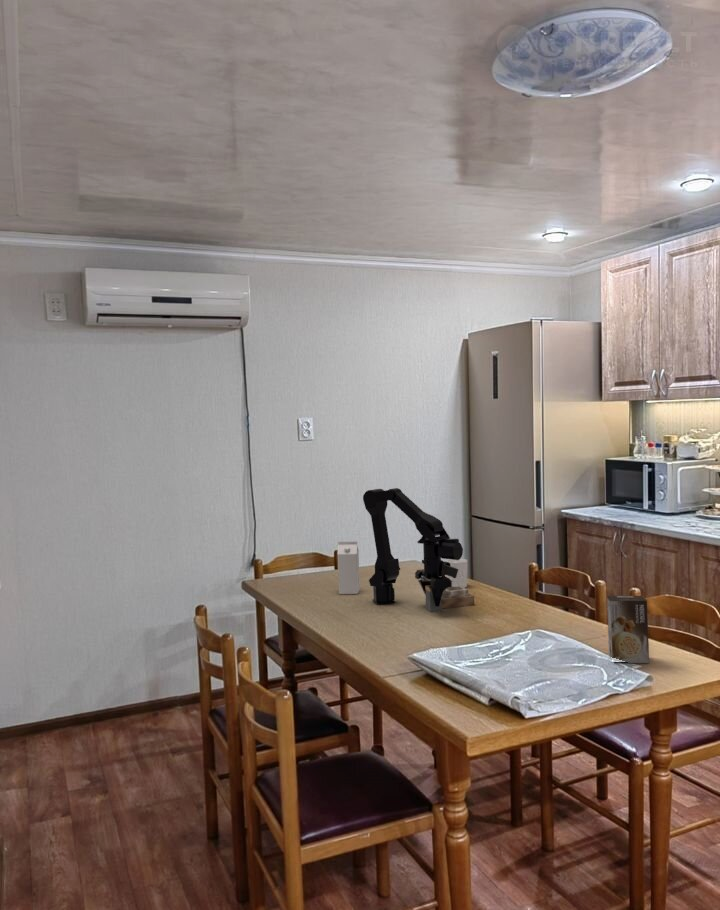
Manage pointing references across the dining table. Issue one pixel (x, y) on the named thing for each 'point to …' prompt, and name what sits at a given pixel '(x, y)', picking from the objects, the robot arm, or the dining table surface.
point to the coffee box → (628, 628)
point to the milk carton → (348, 568)
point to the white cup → (459, 572)
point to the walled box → (456, 597)
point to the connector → (431, 602)
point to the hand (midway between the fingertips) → (433, 604)
